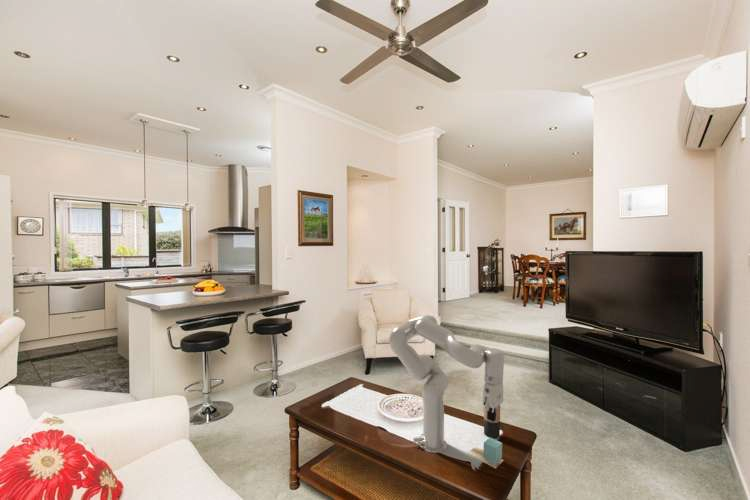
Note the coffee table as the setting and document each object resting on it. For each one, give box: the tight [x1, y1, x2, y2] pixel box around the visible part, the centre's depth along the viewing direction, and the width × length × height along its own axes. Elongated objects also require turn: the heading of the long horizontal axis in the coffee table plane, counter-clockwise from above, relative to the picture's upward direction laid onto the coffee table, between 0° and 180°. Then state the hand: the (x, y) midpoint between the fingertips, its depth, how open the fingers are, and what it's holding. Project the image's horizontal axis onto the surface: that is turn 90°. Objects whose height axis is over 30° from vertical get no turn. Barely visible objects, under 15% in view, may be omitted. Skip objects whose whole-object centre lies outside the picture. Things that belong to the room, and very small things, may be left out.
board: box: [466, 445, 504, 469], centre depth 150 cm, size 8×14×1 cm, turn 43°
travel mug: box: [483, 404, 501, 439], centre depth 166 cm, size 8×8×20 cm
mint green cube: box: [483, 437, 503, 463], centre depth 147 cm, size 6×6×6 cm
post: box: [485, 458, 502, 466], centre depth 147 cm, size 5×5×7 cm
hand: (491, 419), depth 147 cm, fingers closed
